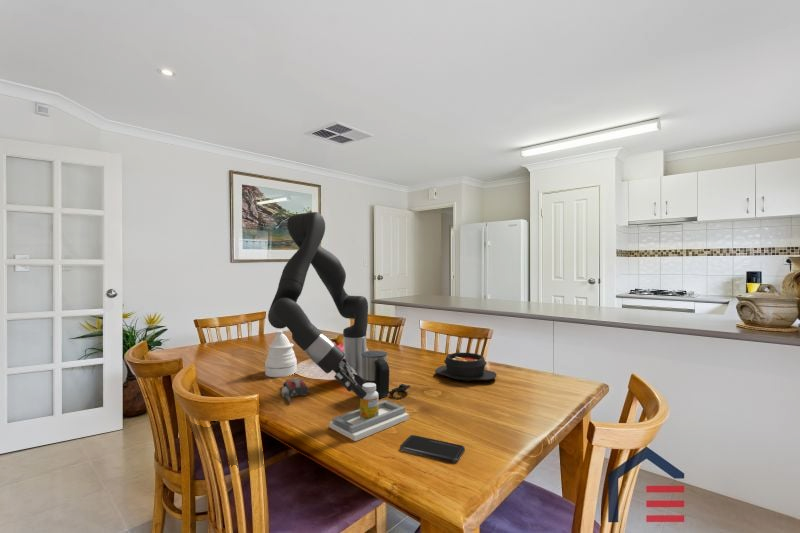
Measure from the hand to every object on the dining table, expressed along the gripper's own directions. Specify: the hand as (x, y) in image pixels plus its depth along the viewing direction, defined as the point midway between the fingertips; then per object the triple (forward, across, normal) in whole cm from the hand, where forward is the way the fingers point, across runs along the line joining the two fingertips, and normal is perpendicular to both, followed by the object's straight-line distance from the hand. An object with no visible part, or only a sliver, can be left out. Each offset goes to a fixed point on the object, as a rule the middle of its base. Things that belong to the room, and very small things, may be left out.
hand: (364, 391), depth 111 cm
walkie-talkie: (-11, +27, +25) cm, 38 cm away
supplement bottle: (+7, 0, +5) cm, 8 cm away
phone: (+19, -17, -5) cm, 26 cm away
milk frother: (+12, +24, +2) cm, 27 cm away
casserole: (+35, +41, -21) cm, 58 cm away
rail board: (+8, 0, +6) cm, 9 cm away
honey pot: (-19, +54, +32) cm, 66 cm away
